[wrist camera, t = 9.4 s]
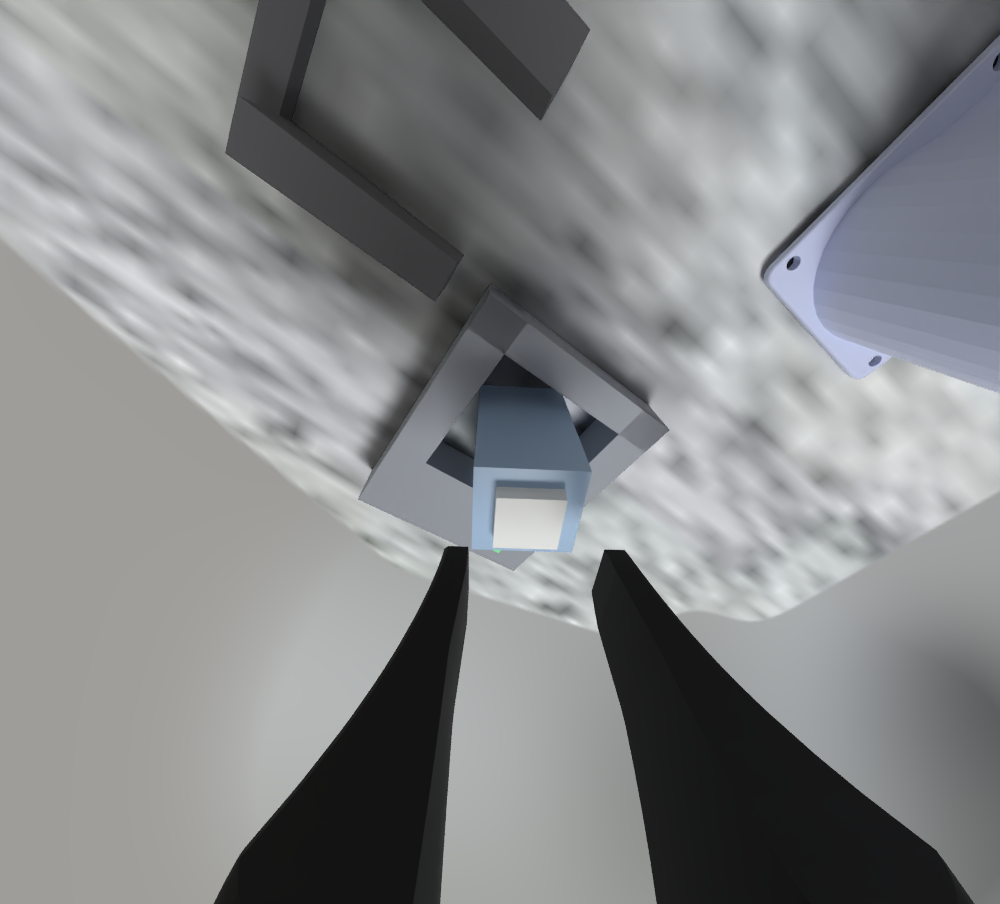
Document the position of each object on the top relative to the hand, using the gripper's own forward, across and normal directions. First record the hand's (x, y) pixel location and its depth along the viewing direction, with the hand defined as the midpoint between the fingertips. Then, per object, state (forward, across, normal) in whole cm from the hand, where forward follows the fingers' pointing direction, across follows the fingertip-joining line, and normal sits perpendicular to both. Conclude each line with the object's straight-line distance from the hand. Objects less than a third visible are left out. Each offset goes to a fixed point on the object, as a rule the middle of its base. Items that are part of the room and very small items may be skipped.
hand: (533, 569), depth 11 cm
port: (+9, +1, +1) cm, 9 cm away
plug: (+9, 0, 0) cm, 9 cm away
